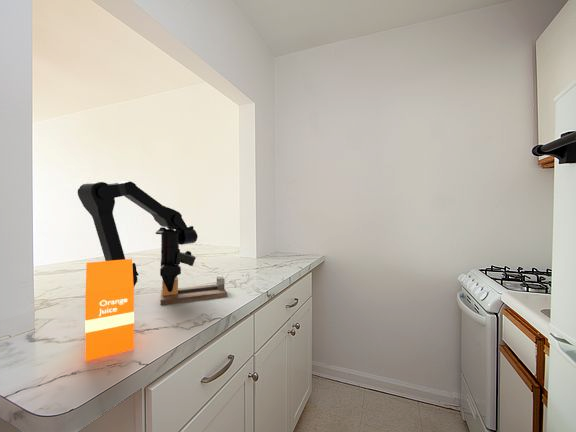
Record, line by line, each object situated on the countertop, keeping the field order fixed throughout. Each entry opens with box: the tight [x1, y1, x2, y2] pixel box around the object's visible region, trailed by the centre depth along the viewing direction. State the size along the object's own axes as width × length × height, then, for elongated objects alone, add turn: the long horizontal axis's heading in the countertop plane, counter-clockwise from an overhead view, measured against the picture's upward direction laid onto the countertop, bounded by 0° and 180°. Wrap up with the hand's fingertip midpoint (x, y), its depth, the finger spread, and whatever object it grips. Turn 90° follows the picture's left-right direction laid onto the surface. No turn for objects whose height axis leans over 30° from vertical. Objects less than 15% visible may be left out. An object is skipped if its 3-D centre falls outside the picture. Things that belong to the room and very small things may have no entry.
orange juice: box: [84, 258, 135, 362], centre depth 60 cm, size 8×9×20 cm
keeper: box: [161, 276, 179, 296], centre depth 93 cm, size 4×5×5 cm
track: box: [160, 276, 228, 306], centre depth 97 cm, size 12×22×6 cm, turn 115°
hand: (170, 289), depth 93 cm, fingers closed on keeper, 4 cm apart
